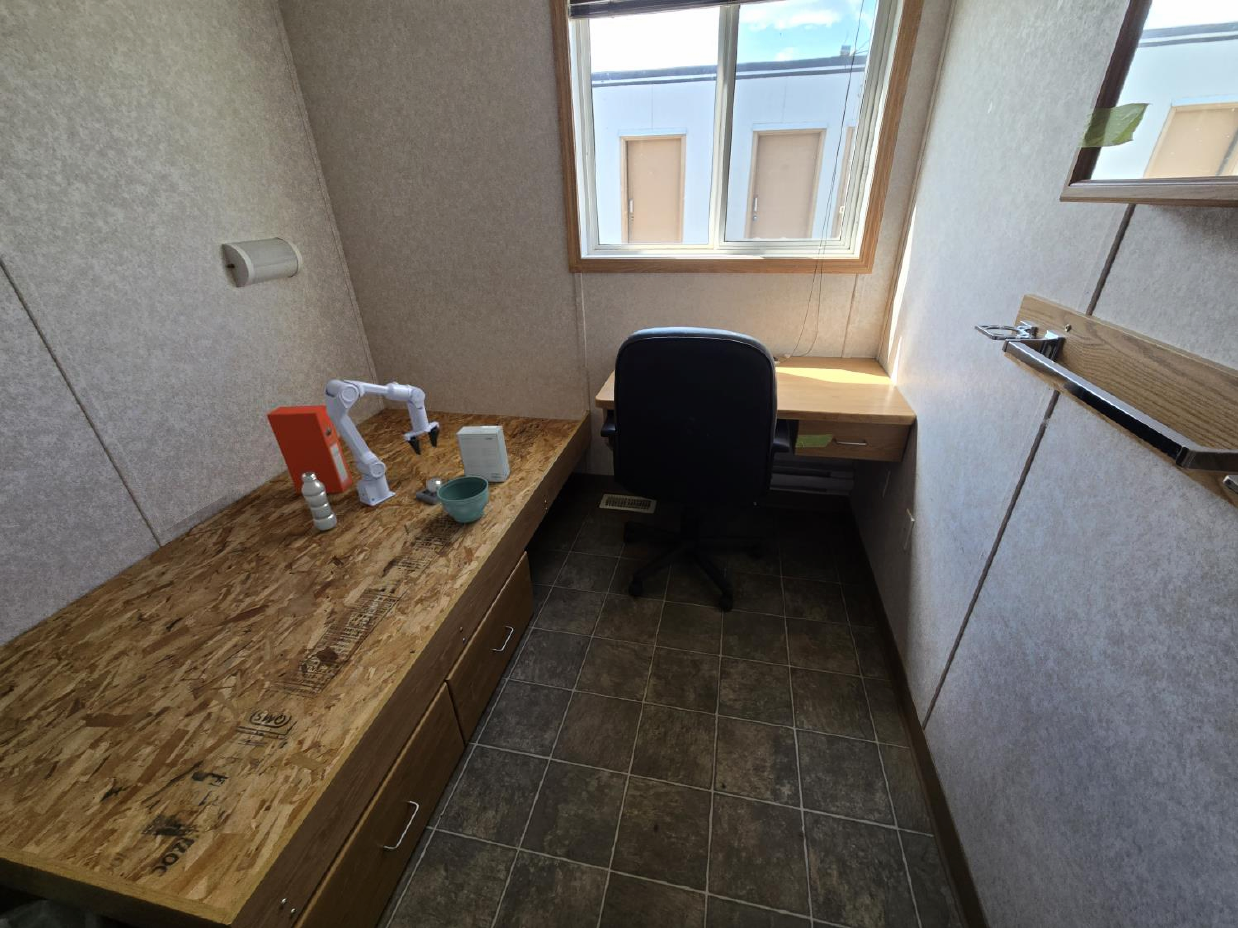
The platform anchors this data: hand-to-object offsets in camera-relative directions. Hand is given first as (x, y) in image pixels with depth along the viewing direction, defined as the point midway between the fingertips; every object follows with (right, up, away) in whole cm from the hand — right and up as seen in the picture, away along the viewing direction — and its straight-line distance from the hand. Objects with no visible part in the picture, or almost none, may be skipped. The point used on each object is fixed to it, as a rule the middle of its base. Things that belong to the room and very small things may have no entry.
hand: (426, 450), depth 194 cm
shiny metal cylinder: (+8, -17, -12) cm, 22 cm away
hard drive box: (+24, -11, -1) cm, 26 cm away
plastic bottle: (-22, -26, -27) cm, 44 cm away
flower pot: (+24, -23, -25) cm, 41 cm away
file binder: (-37, -15, -3) cm, 40 cm away
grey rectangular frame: (+8, -17, -12) cm, 22 cm away
